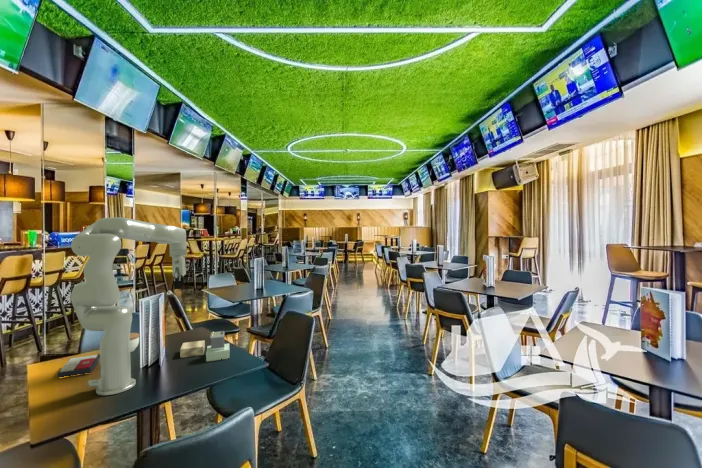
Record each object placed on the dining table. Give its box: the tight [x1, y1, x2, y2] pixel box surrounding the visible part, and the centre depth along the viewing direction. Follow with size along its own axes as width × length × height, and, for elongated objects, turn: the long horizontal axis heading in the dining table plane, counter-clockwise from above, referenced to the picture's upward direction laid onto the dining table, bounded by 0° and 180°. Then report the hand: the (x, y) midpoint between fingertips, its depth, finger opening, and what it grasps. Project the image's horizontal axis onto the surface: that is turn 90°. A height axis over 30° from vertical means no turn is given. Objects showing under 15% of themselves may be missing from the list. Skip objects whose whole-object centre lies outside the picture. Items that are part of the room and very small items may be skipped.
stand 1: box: [179, 339, 206, 359], centre depth 166 cm, size 10×10×4 cm
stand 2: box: [205, 342, 230, 363], centre depth 160 cm, size 10×10×4 cm
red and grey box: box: [57, 354, 100, 379], centre depth 147 cm, size 11×4×15 cm
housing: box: [209, 330, 226, 351], centre depth 160 cm, size 6×6×8 cm
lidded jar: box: [130, 332, 140, 353], centre depth 170 cm, size 11×11×9 cm
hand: (179, 287), depth 167 cm, fingers open, 9 cm apart
